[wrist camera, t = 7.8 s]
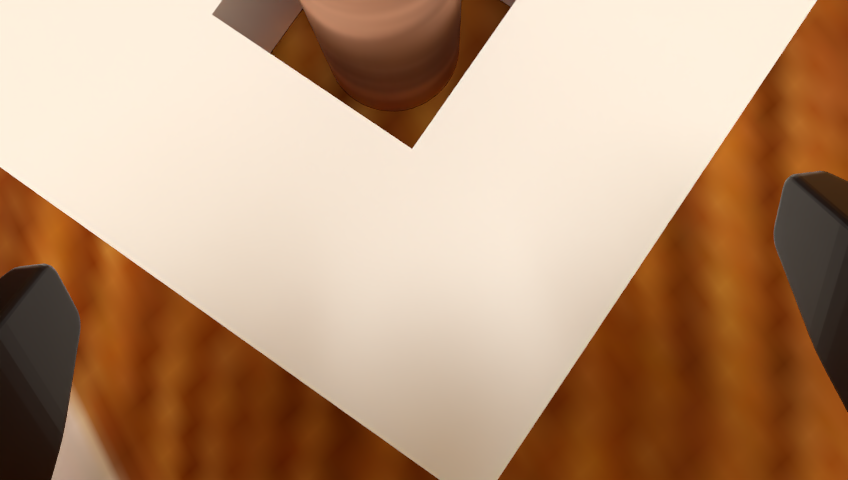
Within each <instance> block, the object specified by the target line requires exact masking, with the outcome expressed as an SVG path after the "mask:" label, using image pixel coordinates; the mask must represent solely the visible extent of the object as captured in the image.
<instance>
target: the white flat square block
mask: <svg viewBox="0 0 848 480" xmlns="http://www.w3.org/2000/svg"><path fill="white" fill-rule="evenodd" d="M501 1H502V2H504V3H506V4H507V5H509V6H510V7H511V8H510V10H509V11H508V12H507V14H506V15H505V17H504V18H503V20H502V21H501V22H500V24H499V25H498V27H497V28H496V30H495V31H494V33H493V34H492V35H491V37H490V38H489V40H488V41H487V43H486V44H485V45H484V47H483V48H482V50H481V51H480V53H479V54H478V55H477V57H476V58H475V60H474V61H473V63H472V64H471V65H470V67H469V68H468V70H467V71H466V73H465V74H464V75H463V77H462V78H461V80H460V81H459V83H458V84H457V85H456V87H455V88H454V90H453V91H452V93H451V94H450V96H449V97H448V98H447V100H446V101H445V103H444V104H443V106H442V107H441V108H440V110H439V111H438V113H437V114H436V116H435V117H434V118H433V120H432V121H431V123H430V124H429V126H428V127H427V128H426V130H425V131H424V133H423V134H422V136H421V137H420V138H419V140H418V141H417V143H416V144H415V146H414V147H413V148H412V149H411V148H410V147H408V146H407V145H405V144H404V143H402V142H401V141H399V140H398V139H396V138H395V137H393V136H392V135H391V134H389V133H388V132H386V131H385V130H383V129H382V128H380V127H379V126H377V125H376V124H374V123H373V122H371V121H370V120H368V119H367V118H365V117H364V116H362V115H361V114H359V113H358V112H356V111H355V110H353V109H352V108H350V107H349V106H347V105H346V104H344V103H343V102H341V101H340V100H338V99H337V98H335V97H334V96H332V95H331V94H330V93H328V92H327V91H325V90H324V89H322V88H321V87H319V86H318V85H316V84H315V83H313V82H312V81H310V80H309V79H307V78H306V77H304V76H303V75H301V74H300V73H298V72H297V71H295V70H294V69H292V68H291V67H289V66H288V65H286V64H285V63H283V62H282V61H280V60H279V59H277V58H276V57H274V56H273V55H271V54H270V53H271V51H272V50H273V49H274V47H275V46H276V44H277V43H278V42H279V40H280V39H281V38H282V36H283V35H284V33H285V32H286V31H287V29H288V28H289V26H290V25H291V24H292V22H293V21H294V19H295V18H296V17H297V15H298V14H299V13H300V11H301V10H302V8H303V7H302V5H301V3H300V1H299V0H0V167H1V168H2V169H4V170H5V171H7V172H8V173H9V174H11V175H12V176H14V177H15V178H16V179H18V180H19V181H21V182H22V183H23V184H25V185H26V186H28V187H29V188H30V189H32V190H33V191H35V192H36V193H37V194H39V195H40V196H42V197H43V198H44V199H46V200H47V201H49V202H50V203H51V204H53V205H54V206H56V207H57V208H58V209H60V210H61V211H63V212H64V213H66V214H67V215H68V216H70V217H71V218H73V219H74V220H75V221H77V222H78V223H80V224H81V225H82V226H84V227H85V228H87V229H88V230H89V231H91V232H92V233H94V234H95V235H96V236H98V237H99V238H101V239H102V240H103V241H105V242H106V243H108V244H109V245H110V246H112V247H113V248H115V249H116V250H117V251H119V252H120V253H122V254H123V255H125V256H126V257H127V258H129V259H130V260H132V261H133V262H134V263H136V264H137V265H139V266H140V267H141V268H143V269H144V270H146V271H147V272H148V273H150V274H151V275H153V276H154V277H155V278H157V279H158V280H160V281H161V282H162V283H164V284H165V285H167V286H168V287H169V288H171V289H172V290H174V291H175V292H176V293H178V294H179V295H181V296H182V297H184V298H185V299H186V300H188V301H189V302H191V303H192V304H193V305H195V306H196V307H198V308H199V309H200V310H202V311H203V312H205V313H206V314H207V315H209V316H210V317H212V318H213V319H214V320H216V321H217V322H219V323H220V324H221V325H223V326H224V327H226V328H227V329H228V330H230V331H231V332H233V333H234V334H235V335H237V336H238V337H240V338H241V339H242V340H244V341H245V342H247V343H248V344H250V345H251V346H252V347H254V348H255V349H257V350H258V351H259V352H261V353H262V354H264V355H265V356H266V357H268V358H269V359H271V360H272V361H273V362H275V363H276V364H278V365H279V366H280V367H282V368H283V369H285V370H286V371H287V372H289V373H290V374H292V375H293V376H294V377H296V378H297V379H299V380H300V381H301V382H303V383H304V384H306V385H307V386H309V387H310V388H311V389H313V390H314V391H316V392H317V393H318V394H320V395H321V396H323V397H324V398H325V399H327V400H328V401H330V402H331V403H332V404H334V405H335V406H337V407H338V408H339V409H341V410H342V411H344V412H345V413H346V414H348V415H349V416H351V417H352V418H353V419H355V420H356V421H358V422H359V423H360V424H362V425H363V426H365V427H366V428H368V429H369V430H370V431H372V432H373V433H375V434H376V435H377V436H379V437H380V438H382V439H383V440H384V441H386V442H387V443H389V444H390V445H391V446H393V447H394V448H396V449H397V450H398V451H400V452H401V453H403V454H404V455H405V456H407V457H408V458H410V459H411V460H412V461H414V462H415V463H417V464H418V465H419V466H421V467H422V468H424V469H425V470H426V471H428V472H429V473H431V474H432V475H434V476H435V477H436V478H438V479H439V480H498V478H499V477H500V475H501V474H502V472H503V471H504V469H505V468H506V466H507V465H508V463H509V462H510V460H511V459H512V457H513V456H514V454H515V453H516V451H517V450H518V448H519V447H520V445H521V444H522V442H523V441H524V439H525V438H526V436H527V435H528V433H529V432H530V430H531V429H532V427H533V426H534V424H535V423H536V421H537V420H538V418H539V417H540V415H541V414H542V412H543V411H544V409H545V408H546V406H547V405H548V403H549V402H550V400H551V399H552V397H553V396H554V394H555V393H556V391H557V390H558V388H559V387H560V385H561V384H562V382H563V381H564V379H565V378H566V376H567V375H568V373H569V372H570V370H571V369H572V367H573V366H574V364H575V363H576V361H577V360H578V358H579V357H580V355H581V354H582V352H583V351H584V349H585V348H586V346H587V345H588V343H589V342H590V340H591V339H592V337H593V336H594V334H595V333H596V331H597V330H598V328H599V327H600V325H601V324H602V322H603V321H604V319H605V318H606V316H607V315H608V313H609V312H610V310H611V309H612V307H613V306H614V304H615V303H616V301H617V300H618V298H619V297H620V295H621V294H622V292H623V291H624V289H625V288H626V286H627V285H628V283H629V282H630V280H631V279H632V277H633V276H634V274H635V273H636V271H637V270H638V268H639V267H640V265H641V264H642V262H643V261H644V259H645V258H646V256H647V255H648V253H649V252H650V250H651V249H652V247H653V246H654V244H655V243H656V241H657V240H658V238H659V237H660V235H661V234H662V232H663V231H664V229H665V228H666V226H667V225H668V223H669V222H670V220H671V219H672V217H673V216H674V214H675V213H676V211H677V210H678V208H679V207H680V205H681V204H682V202H683V201H684V199H685V198H686V196H687V195H688V193H689V191H690V190H691V188H692V187H693V185H694V184H695V182H696V181H697V179H698V178H699V176H700V175H701V173H702V172H703V170H704V169H705V167H706V166H707V164H708V163H709V161H710V160H711V158H712V157H713V155H714V154H715V152H716V151H717V149H718V148H719V146H720V145H721V143H722V142H723V140H724V139H725V137H726V136H727V134H728V133H729V131H730V130H731V128H732V127H733V125H734V124H735V122H736V121H737V119H738V118H739V116H740V115H741V113H742V112H743V110H744V109H745V107H746V106H747V104H748V103H749V101H750V100H751V98H752V97H753V95H754V94H755V92H756V91H757V89H758V88H759V86H760V85H761V83H762V82H763V80H764V79H765V77H766V76H767V74H768V73H769V71H770V70H771V68H772V67H773V65H774V64H775V62H776V61H777V59H778V58H779V56H780V55H781V53H782V52H783V50H784V49H785V47H786V46H787V44H788V43H789V41H790V40H791V38H792V37H793V35H794V34H795V32H796V31H797V29H798V28H799V26H800V25H801V23H802V22H803V20H804V19H805V17H806V16H807V14H808V13H809V11H810V10H811V8H812V7H813V5H814V4H815V2H816V1H817V0H501Z"/></svg>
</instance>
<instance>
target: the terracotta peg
mask: <svg viewBox="0 0 848 480" xmlns="http://www.w3.org/2000/svg"><path fill="white" fill-rule="evenodd" d="M299 1H300V3H301V5H302V7H303V10H304V12H305V14H306V16H307V18H308V20H309V23H310V25H311V27H312V29H313V31H314V33H315V36H316V38H317V40H318V42H319V44H320V46H321V49H322V51H323V53H324V55H325V57H326V59H327V62H328V64H329V66H330V68H331V70H332V72H333V75H334V76H335V78H336V80H337V82H338V83H339V84H340V86H341V87H342V88H343V90H344V91H345V92H346V93H347V94H348V95H350V96H351V97H352V98H354V99H355V100H356V101H358V102H360V103H362V104H363V105H366V106H368V107H371V108H374V109H378V110H384V111H401V110H407V109H411V108H414V107H417V106H419V105H422V104H423V103H425V102H427V101H429V100H430V99H432V98H433V97H434V96H436V95H437V94H438V93H439V92H440V91H441V90H442V89H443V88H444V87H445V85H446V84H447V83H448V81H449V80H450V78H451V76H452V74H453V72H454V70H455V67H456V64H457V60H458V54H459V40H460V19H461V0H299Z"/></svg>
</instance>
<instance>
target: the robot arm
mask: <svg viewBox="0 0 848 480" xmlns="http://www.w3.org/2000/svg"><path fill="white" fill-rule="evenodd" d="M774 242H775V246H776V249H777V252H778V255H779V257H780V260H781V263H782V265H783V268H784V271H785V273H786V276H787V278H788V281H789V284H790V286H791V289H792V291H793V294H794V297H795V299H796V302H797V305H798V307H799V310H800V312H801V315H802V318H803V320H804V323H805V326H806V328H807V331H808V333H809V336H810V338H811V341H812V343H813V345H814V348H815V350H816V352H817V354H818V356H819V358H820V360H821V362H822V364H823V366H824V368H825V370H826V372H827V374H828V376H829V378H830V380H831V382H832V383H833V385H834V387H835V389H836V391H837V393H838V395H839V397H840V399H841V400H842V402H843V404H844V406H845V408H846V410H847V412H848V181H846V180H844V179H842V178H839V177H837V176H835V175H833V174H830V173H828V172H825V171H817V172H808V173H800V174H793V175H791V176H790V177H789V178H787V180H786V181H785V184H784V187H783V190H782V195H781V200H780V204H779V209H778V213H777V218H776V222H775V227H774ZM79 335H80V317H79V313H78V311H77V308H76V307H75V305H74V303H73V301H72V299H71V297H70V295H69V293H68V292H67V290H66V288H65V286H64V284H63V282H62V280H61V278H60V277H59V275H58V273H57V272H56V270H55V269H54V268H53V267H52V266H50V265H47V264H37V265H29V266H21V267H16V268H14V269H12V270H10V271H9V272H8V273H6V274H5V275H4V276H2V277H1V278H0V480H51V478H52V475H53V471H54V468H55V464H56V461H57V457H58V453H59V450H60V446H61V442H62V438H63V433H64V428H65V423H66V417H67V411H68V405H69V399H70V392H71V386H72V380H73V373H74V367H75V361H76V354H77V348H78V342H79Z"/></svg>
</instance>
